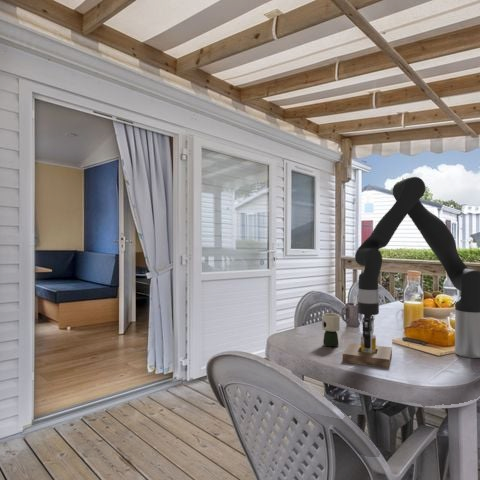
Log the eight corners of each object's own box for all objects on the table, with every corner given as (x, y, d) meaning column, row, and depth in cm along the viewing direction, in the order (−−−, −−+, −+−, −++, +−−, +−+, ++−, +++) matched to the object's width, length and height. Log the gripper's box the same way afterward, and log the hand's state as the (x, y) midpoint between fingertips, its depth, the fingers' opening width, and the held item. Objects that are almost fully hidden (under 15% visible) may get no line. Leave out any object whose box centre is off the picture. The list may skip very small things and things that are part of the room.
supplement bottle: (372, 351, 146) (372, 326, 146) (378, 355, 141) (378, 329, 141) (358, 351, 146) (358, 326, 146) (363, 355, 141) (363, 329, 141)
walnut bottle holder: (391, 355, 148) (391, 347, 148) (389, 368, 133) (389, 359, 133) (349, 350, 154) (349, 342, 154) (342, 361, 140) (342, 353, 140)
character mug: (320, 341, 166) (320, 312, 166) (337, 342, 165) (337, 312, 165) (323, 349, 155) (323, 317, 155) (341, 349, 155) (341, 317, 154)
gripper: (377, 304, 135) (377, 352, 136) (380, 298, 148) (380, 342, 149) (355, 303, 138) (355, 349, 139) (360, 297, 152) (360, 339, 152)
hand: (368, 345), depth 144 cm, fingers closed on supplement bottle, 5 cm apart
